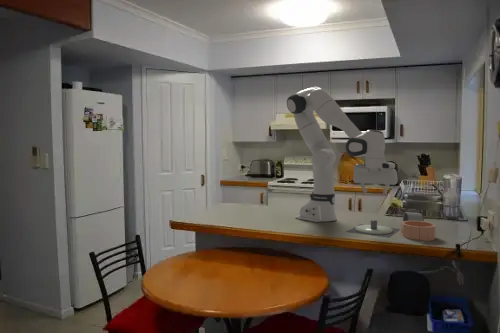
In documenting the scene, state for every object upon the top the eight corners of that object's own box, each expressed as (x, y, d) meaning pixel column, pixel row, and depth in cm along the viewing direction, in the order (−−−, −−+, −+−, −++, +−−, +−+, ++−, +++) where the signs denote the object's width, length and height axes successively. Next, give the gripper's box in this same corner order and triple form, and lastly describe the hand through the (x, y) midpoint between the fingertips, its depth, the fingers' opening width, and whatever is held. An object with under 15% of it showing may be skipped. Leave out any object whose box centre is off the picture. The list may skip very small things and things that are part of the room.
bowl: (398, 238, 183) (398, 224, 183) (405, 232, 195) (406, 219, 194) (431, 242, 175) (432, 228, 175) (437, 235, 187) (438, 222, 186)
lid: (350, 231, 194) (350, 221, 193) (362, 225, 208) (362, 215, 208) (386, 236, 184) (387, 225, 184) (396, 229, 198) (397, 219, 198)
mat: (345, 232, 193) (346, 231, 193) (360, 225, 210) (360, 224, 210) (389, 238, 182) (389, 237, 182) (400, 230, 199) (400, 229, 199)
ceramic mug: (424, 229, 201) (425, 213, 201) (408, 229, 201) (408, 213, 201) (415, 224, 212) (416, 210, 211) (399, 224, 212) (400, 210, 211)
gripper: (351, 163, 197) (351, 192, 198) (395, 165, 186) (394, 195, 187) (355, 163, 202) (355, 191, 203) (398, 164, 191) (398, 193, 192)
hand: (374, 193), depth 195 cm, fingers open, 8 cm apart
